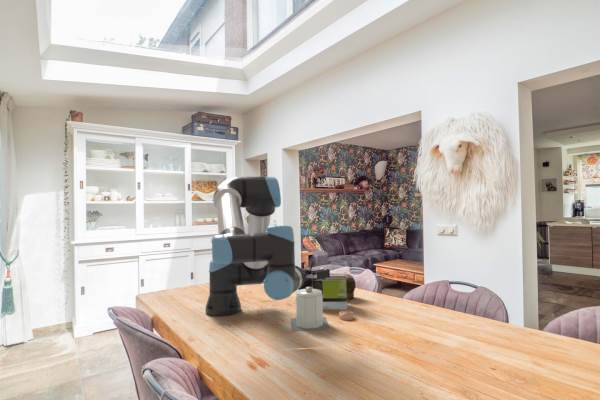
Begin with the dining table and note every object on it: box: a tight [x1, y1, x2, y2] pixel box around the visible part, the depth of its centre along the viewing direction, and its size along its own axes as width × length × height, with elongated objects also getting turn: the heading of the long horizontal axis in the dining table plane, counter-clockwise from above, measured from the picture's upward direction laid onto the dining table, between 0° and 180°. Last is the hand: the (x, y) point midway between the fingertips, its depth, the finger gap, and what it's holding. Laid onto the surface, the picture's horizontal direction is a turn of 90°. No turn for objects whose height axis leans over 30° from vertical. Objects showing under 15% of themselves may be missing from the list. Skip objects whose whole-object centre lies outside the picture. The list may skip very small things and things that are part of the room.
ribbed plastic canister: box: [295, 287, 324, 329], centre depth 125 cm, size 10×10×14 cm
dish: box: [338, 310, 355, 321], centre depth 131 cm, size 6×6×3 cm
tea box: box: [312, 271, 348, 310], centre depth 148 cm, size 15×10×15 cm
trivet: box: [290, 316, 332, 332], centre depth 125 cm, size 14×14×1 cm
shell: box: [345, 273, 357, 301], centre depth 161 cm, size 11×11×12 cm
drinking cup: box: [298, 261, 314, 290], centre depth 157 cm, size 8×8×20 cm
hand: (304, 271), depth 120 cm, fingers open, 13 cm apart
